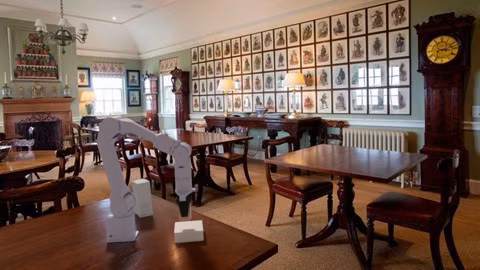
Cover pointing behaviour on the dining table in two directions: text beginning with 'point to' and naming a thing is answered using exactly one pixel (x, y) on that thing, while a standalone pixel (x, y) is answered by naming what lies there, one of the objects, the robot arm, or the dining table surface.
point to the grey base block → (188, 231)
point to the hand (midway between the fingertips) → (185, 214)
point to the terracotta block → (185, 217)
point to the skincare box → (142, 197)
